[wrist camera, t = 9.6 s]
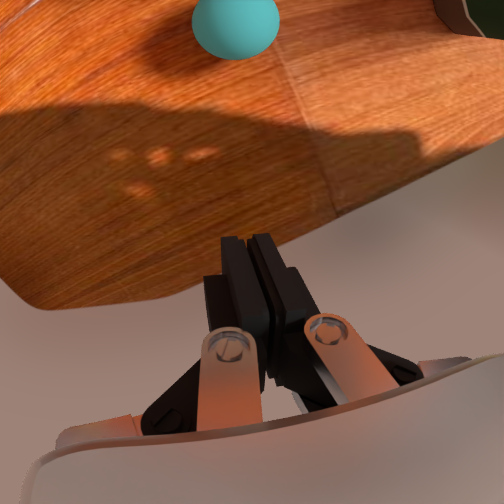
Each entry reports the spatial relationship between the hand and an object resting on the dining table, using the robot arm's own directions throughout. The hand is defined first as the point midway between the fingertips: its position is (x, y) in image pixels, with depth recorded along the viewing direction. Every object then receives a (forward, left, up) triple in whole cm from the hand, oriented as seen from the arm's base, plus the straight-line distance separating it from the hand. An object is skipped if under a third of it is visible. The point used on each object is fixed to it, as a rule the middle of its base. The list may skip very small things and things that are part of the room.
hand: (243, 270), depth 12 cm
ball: (+2, +10, -14) cm, 18 cm away
